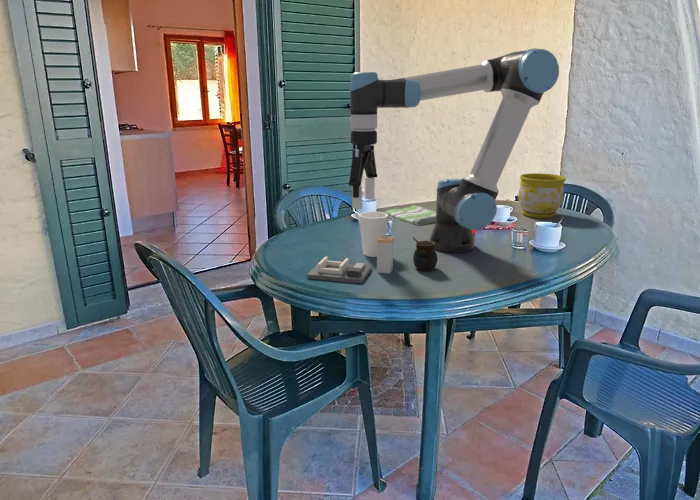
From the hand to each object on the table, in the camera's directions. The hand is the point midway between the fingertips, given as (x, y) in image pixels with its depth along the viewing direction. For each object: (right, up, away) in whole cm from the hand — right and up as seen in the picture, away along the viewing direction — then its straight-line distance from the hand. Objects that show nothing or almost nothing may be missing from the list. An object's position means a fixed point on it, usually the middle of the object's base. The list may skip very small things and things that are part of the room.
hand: (363, 203), depth 150 cm
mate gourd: (+18, -19, +2) cm, 27 cm away
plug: (+6, -20, 0) cm, 21 cm away
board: (-7, -21, -2) cm, 22 cm away
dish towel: (+24, 0, +64) cm, 68 cm away
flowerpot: (+76, +1, +67) cm, 101 cm away
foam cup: (+3, -15, +16) cm, 22 cm away
